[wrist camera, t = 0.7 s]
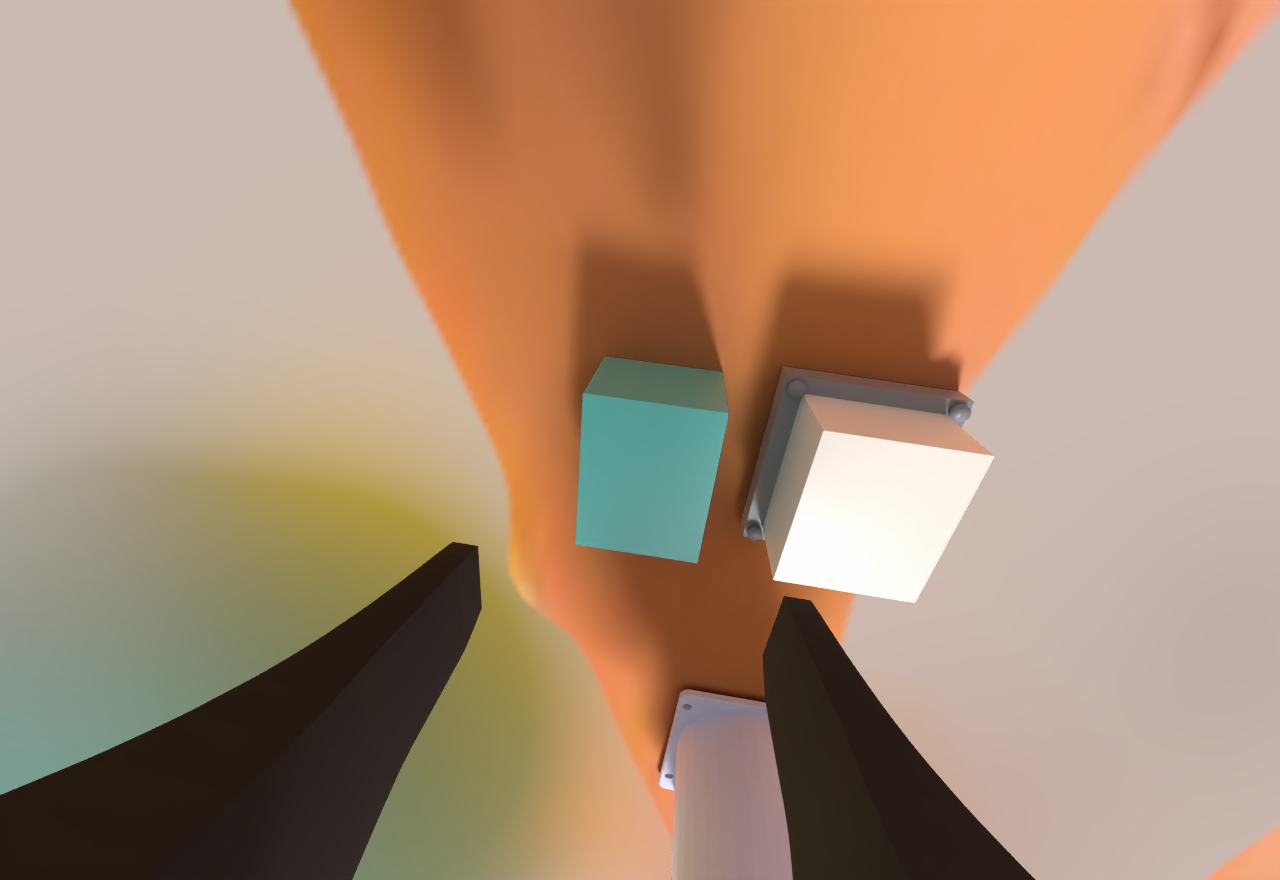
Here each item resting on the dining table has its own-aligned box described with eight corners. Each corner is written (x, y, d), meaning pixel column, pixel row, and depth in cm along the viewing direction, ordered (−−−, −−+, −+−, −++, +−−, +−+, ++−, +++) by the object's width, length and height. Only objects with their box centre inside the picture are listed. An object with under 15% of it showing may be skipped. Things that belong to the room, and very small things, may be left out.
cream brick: (884, 547, 19) (915, 603, 16) (762, 527, 19) (773, 579, 17) (945, 414, 16) (994, 456, 14) (802, 393, 16) (823, 430, 14)
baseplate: (887, 545, 20) (899, 566, 19) (740, 521, 20) (743, 541, 19) (958, 391, 17) (978, 405, 16) (782, 366, 17) (788, 377, 16)
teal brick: (697, 500, 20) (697, 563, 17) (596, 485, 21) (575, 544, 17) (722, 370, 18) (728, 413, 14) (605, 355, 18) (582, 393, 14)
